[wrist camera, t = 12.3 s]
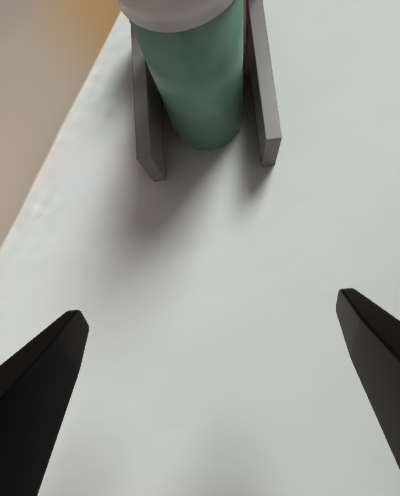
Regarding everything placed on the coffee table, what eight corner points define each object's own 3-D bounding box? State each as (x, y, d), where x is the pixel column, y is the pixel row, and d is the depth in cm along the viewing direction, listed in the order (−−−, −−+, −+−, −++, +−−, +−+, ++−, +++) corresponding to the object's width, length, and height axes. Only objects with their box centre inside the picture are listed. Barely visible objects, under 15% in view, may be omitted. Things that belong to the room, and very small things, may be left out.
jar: (233, 159, 23) (222, 6, 11) (161, 143, 24) (78, -10, 12) (254, 90, 24) (267, -128, 11) (183, 78, 25) (127, -130, 13)
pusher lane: (274, 164, 22) (289, 107, 15) (154, 181, 24) (118, 135, 17) (253, 7, 25) (258, -101, 18) (146, 30, 26) (112, -62, 19)
